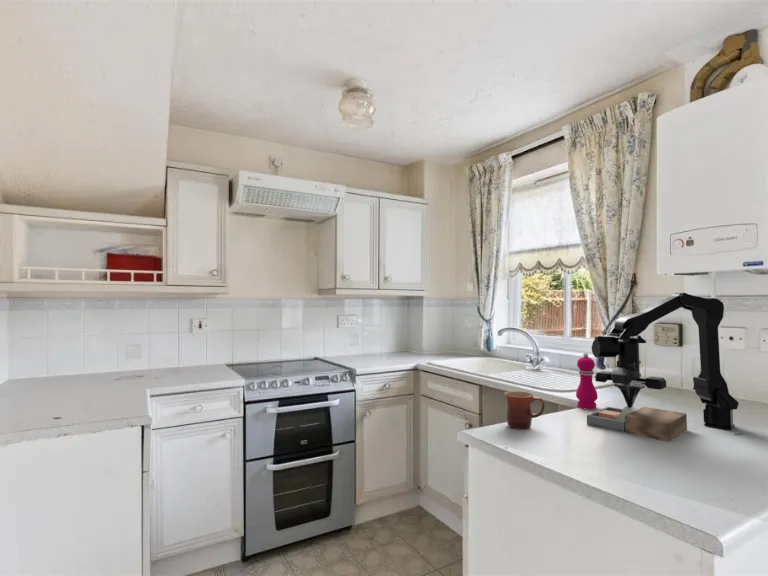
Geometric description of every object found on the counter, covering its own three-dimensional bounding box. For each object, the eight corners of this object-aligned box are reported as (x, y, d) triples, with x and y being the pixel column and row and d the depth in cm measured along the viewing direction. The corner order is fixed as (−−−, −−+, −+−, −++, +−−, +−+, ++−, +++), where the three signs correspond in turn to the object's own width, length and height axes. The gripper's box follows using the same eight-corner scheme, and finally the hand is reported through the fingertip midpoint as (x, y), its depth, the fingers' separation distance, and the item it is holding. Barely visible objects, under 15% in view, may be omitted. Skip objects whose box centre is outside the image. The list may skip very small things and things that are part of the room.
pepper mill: (600, 410, 153) (599, 354, 154) (578, 409, 155) (577, 353, 155) (594, 405, 160) (593, 351, 161) (574, 404, 162) (572, 351, 162)
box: (643, 422, 138) (643, 412, 138) (624, 432, 127) (623, 422, 127) (607, 415, 146) (607, 406, 146) (586, 424, 136) (586, 415, 136)
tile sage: (637, 410, 134) (630, 404, 136) (631, 412, 131) (624, 407, 133) (629, 421, 136) (621, 416, 138) (622, 424, 133) (615, 419, 135)
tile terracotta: (605, 409, 142) (605, 417, 141) (598, 412, 138) (598, 420, 138) (621, 412, 138) (621, 420, 138) (614, 415, 135) (614, 423, 134)
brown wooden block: (687, 430, 129) (686, 413, 129) (669, 442, 118) (669, 423, 119) (644, 422, 138) (644, 406, 138) (625, 432, 127) (624, 415, 127)
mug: (503, 429, 131) (503, 396, 132) (505, 422, 140) (504, 390, 140) (545, 433, 127) (544, 398, 128) (544, 425, 136) (544, 392, 136)
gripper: (587, 357, 136) (588, 406, 135) (653, 363, 122) (655, 418, 121) (601, 354, 143) (603, 400, 143) (666, 359, 129) (667, 411, 128)
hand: (630, 407), depth 133 cm, fingers closed
